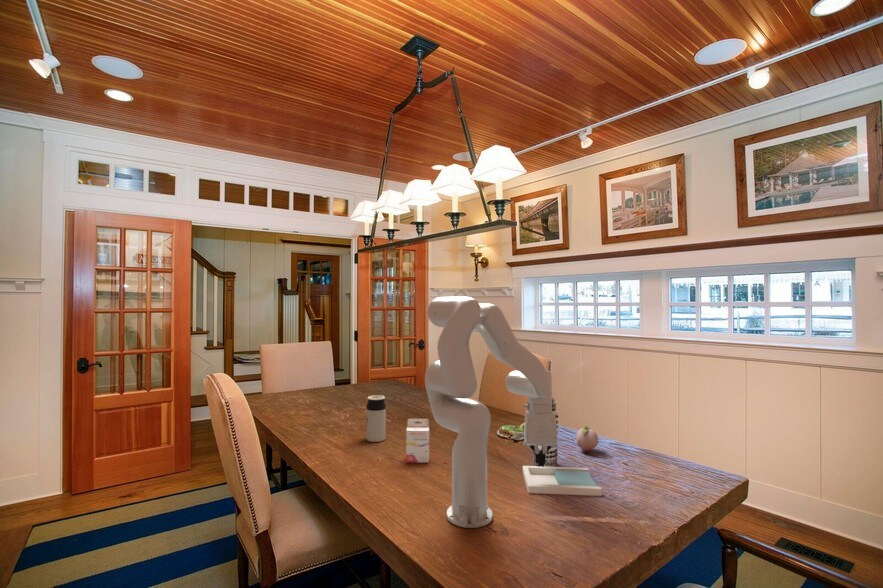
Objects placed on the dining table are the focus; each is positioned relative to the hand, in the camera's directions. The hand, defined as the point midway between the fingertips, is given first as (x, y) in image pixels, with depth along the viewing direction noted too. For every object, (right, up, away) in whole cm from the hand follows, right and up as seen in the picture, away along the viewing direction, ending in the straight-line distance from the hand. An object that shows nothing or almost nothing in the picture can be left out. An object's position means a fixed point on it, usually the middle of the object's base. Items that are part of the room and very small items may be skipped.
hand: (540, 465), depth 136 cm
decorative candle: (+5, -7, +14) cm, 17 cm away
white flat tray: (+7, -6, -1) cm, 9 cm away
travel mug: (-60, -7, +45) cm, 75 cm away
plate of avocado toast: (+2, -8, +53) cm, 53 cm away
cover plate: (+11, -5, -1) cm, 12 cm away
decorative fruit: (+25, -7, +31) cm, 40 cm away
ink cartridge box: (-41, -7, +21) cm, 46 cm away
